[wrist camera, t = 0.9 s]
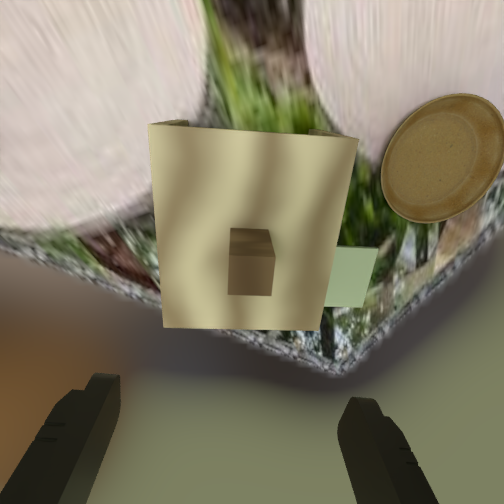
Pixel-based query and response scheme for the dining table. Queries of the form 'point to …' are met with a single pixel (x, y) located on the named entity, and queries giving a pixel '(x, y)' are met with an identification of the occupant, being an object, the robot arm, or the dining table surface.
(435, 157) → the plant saucer
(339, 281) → the plate
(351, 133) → the dining table surface
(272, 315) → the small wooden table
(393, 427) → the robot arm
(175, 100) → the dining table surface
